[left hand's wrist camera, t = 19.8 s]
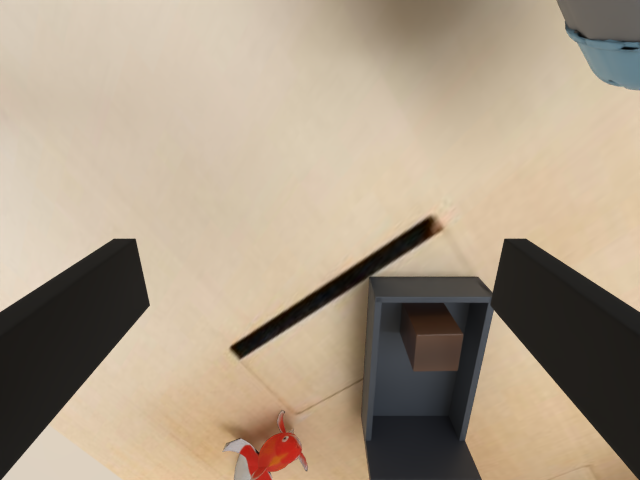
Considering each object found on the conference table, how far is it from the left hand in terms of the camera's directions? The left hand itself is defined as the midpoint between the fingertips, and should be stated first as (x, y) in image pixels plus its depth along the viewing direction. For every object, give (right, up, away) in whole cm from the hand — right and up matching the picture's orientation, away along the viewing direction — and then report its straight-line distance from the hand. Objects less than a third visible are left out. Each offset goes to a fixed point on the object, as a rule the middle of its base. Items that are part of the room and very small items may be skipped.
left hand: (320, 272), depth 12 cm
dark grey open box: (+13, -14, +34) cm, 39 cm away
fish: (-8, -29, +40) cm, 50 cm away
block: (+13, -9, +31) cm, 35 cm away
